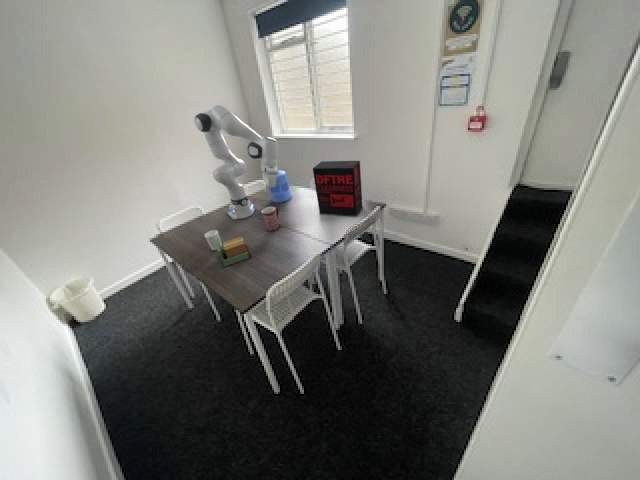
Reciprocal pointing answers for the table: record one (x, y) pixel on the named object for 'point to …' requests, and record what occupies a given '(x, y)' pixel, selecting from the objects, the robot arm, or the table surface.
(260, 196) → the table surface
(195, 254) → the table surface
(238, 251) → the parcel
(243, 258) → the stand
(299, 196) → the table surface
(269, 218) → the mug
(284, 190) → the water jug
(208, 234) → the white cup
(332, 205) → the product box
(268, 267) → the table surface
